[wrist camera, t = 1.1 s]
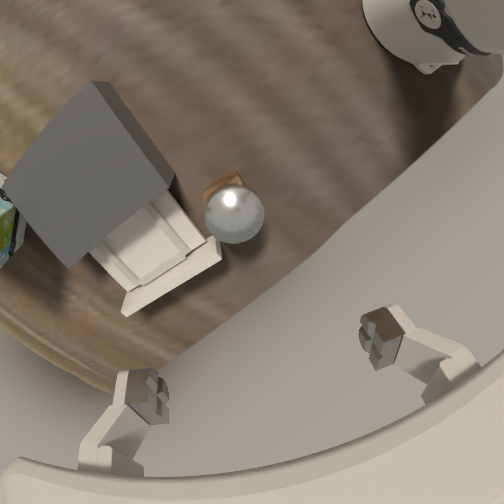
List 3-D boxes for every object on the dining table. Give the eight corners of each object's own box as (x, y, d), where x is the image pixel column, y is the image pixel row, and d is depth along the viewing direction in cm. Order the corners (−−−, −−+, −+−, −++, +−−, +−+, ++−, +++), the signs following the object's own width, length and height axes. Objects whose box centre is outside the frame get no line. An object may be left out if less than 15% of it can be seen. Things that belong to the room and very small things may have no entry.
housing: (109, 82, 25) (91, 80, 20) (175, 173, 33) (169, 187, 28) (24, 172, 28) (1, 187, 23) (83, 246, 35) (68, 269, 30)
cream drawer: (153, 151, 30) (144, 159, 26) (219, 239, 38) (222, 259, 34) (67, 226, 33) (52, 243, 29) (132, 295, 41) (126, 317, 36)
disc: (242, 172, 29) (245, 177, 27) (271, 217, 32) (274, 224, 31) (193, 203, 30) (192, 210, 28) (224, 244, 33) (226, 253, 32)
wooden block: (236, 169, 34) (240, 180, 30) (255, 200, 36) (262, 215, 32) (202, 191, 34) (202, 205, 30) (223, 220, 37) (226, 237, 33)
